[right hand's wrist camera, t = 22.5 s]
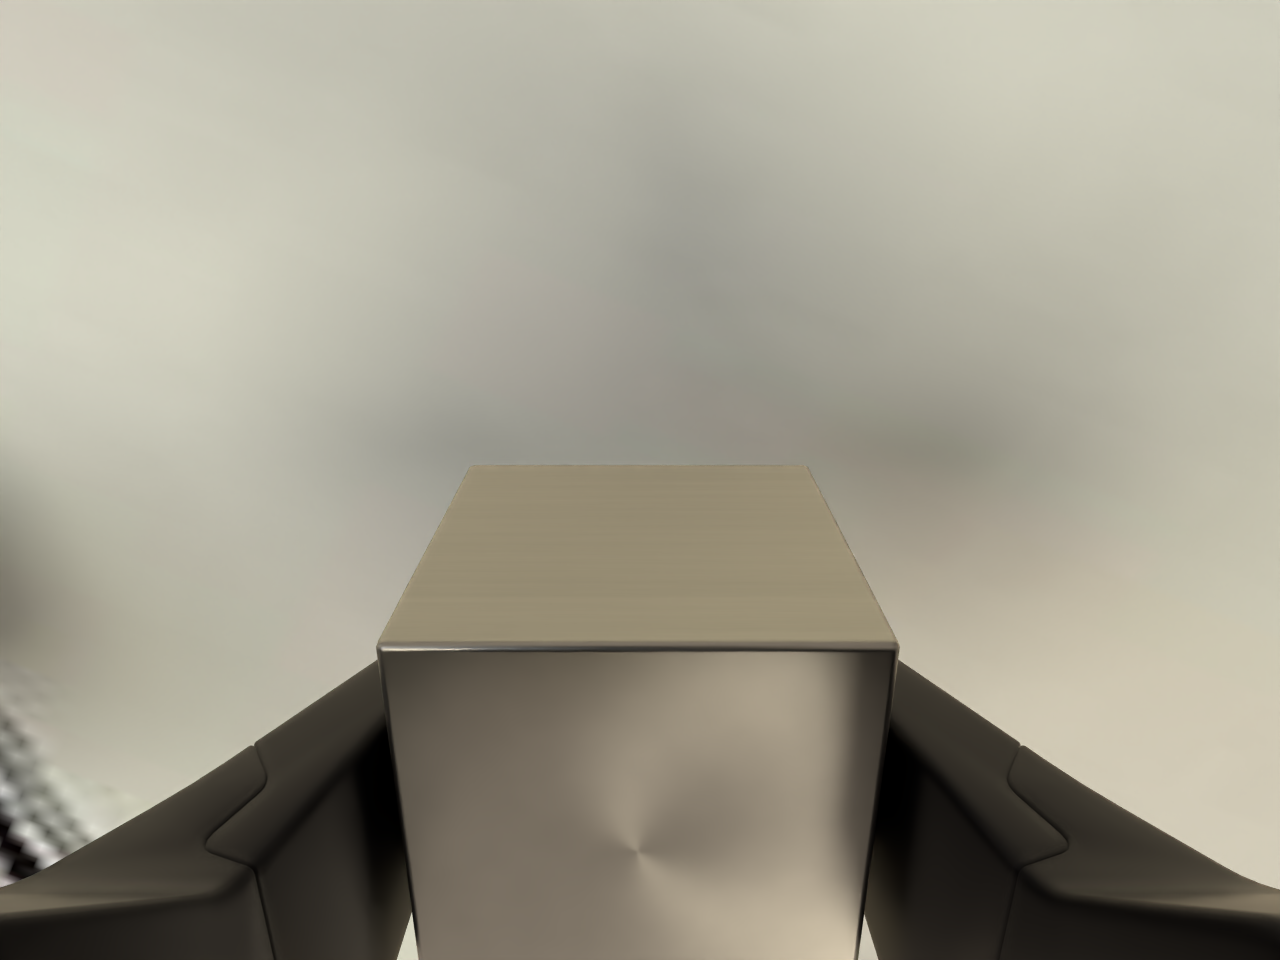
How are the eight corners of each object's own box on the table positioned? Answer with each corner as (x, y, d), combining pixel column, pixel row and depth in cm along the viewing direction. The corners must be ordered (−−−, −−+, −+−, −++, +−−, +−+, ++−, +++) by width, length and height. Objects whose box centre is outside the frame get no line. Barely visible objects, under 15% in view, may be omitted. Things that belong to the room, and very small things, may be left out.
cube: (786, 745, 13) (852, 1019, 9) (492, 744, 13) (423, 1018, 9) (809, 463, 12) (902, 644, 7) (469, 463, 12) (371, 644, 7)
